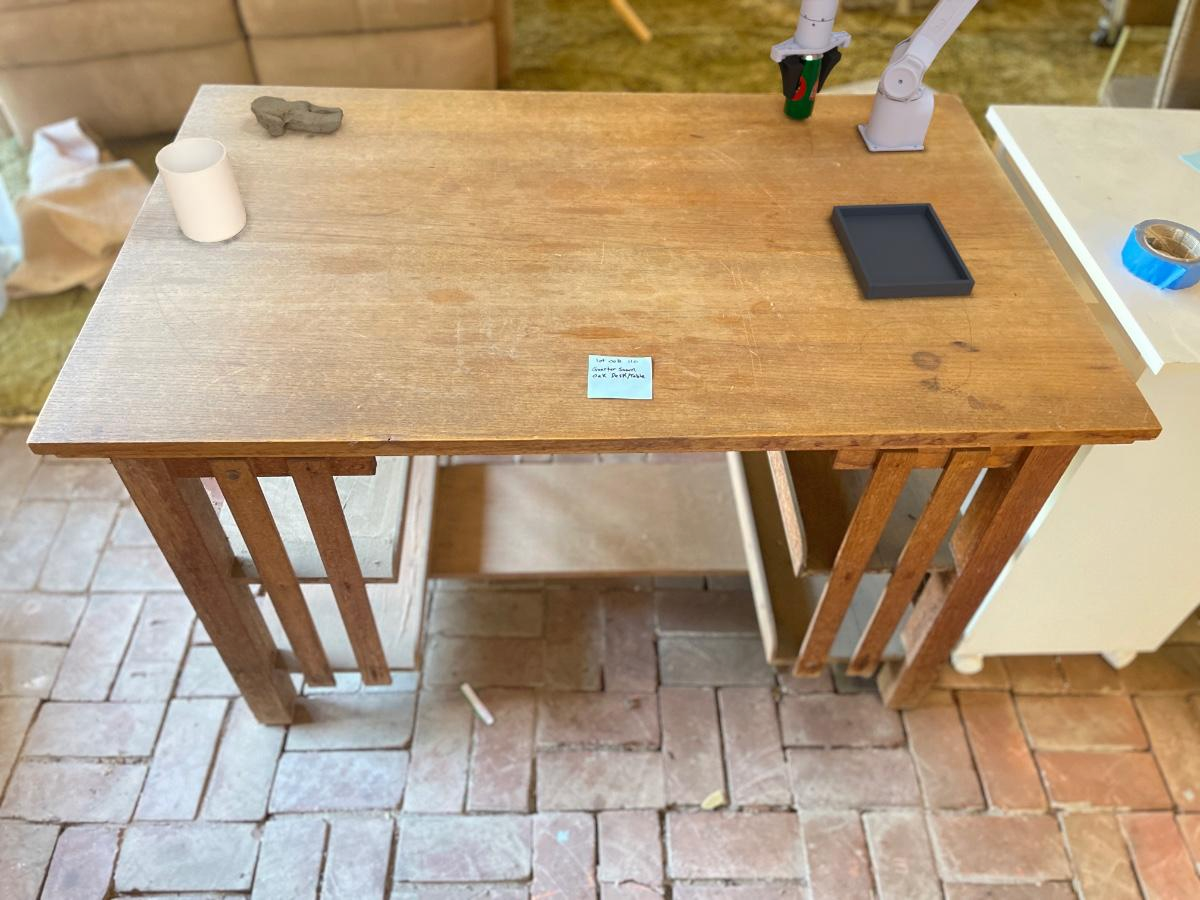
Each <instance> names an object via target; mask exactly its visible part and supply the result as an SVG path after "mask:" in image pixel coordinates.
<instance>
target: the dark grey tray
mask: <svg viewBox="0 0 1200 900" xmlns="http://www.w3.org/2000/svg"><path fill="white" fill-rule="evenodd" d="M830 220H831V223H832V225H833V227H834V230H835V232H836V235H837V237H838V239H839V241H840V244H841V246H842V249H843V251H844V253H845V255H846V257H847V260H848V262H849V264H850V266H851V270H852V272H853V273H854V276H855V279H856V280H857V282H858V285H859V286H860V290H861V292H862V294H863V296H864V298H865V299H864V300H872V299H873V300H876V299H899V298H900V299H901V298H903V299H904V298H925V297H951V296H952V297H953V296H954V297H955V296H970V295H971V293H972V291H973V289H974V287H975V284H976V281H975V280H974V277H973V276H972V273H971V272H970V271H969V269H968V267H967V265H966V263H965V262H964V260H963V258H962V256H961V254H960V252H959V251H958V249H957V248H956V246H955V244H954V243H953V240H952V239H951V237H950V235H949V234H948V231H947V230H946V228H945V227H944V224H943V223H942V221H941V219H940V218H939V216H938V214H937V212H936V210H935V209H934V207H933V206H932V204H931V203H930V202H918V203H917V202H914V203H913V202H912V203H886V204H885V203H884V204H883V203H881V204H879V203H878V204H852V205H851V204H850V205H849V204H848V205H847V204H846V205H833V206H832V211H831V214H830Z"/></svg>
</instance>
